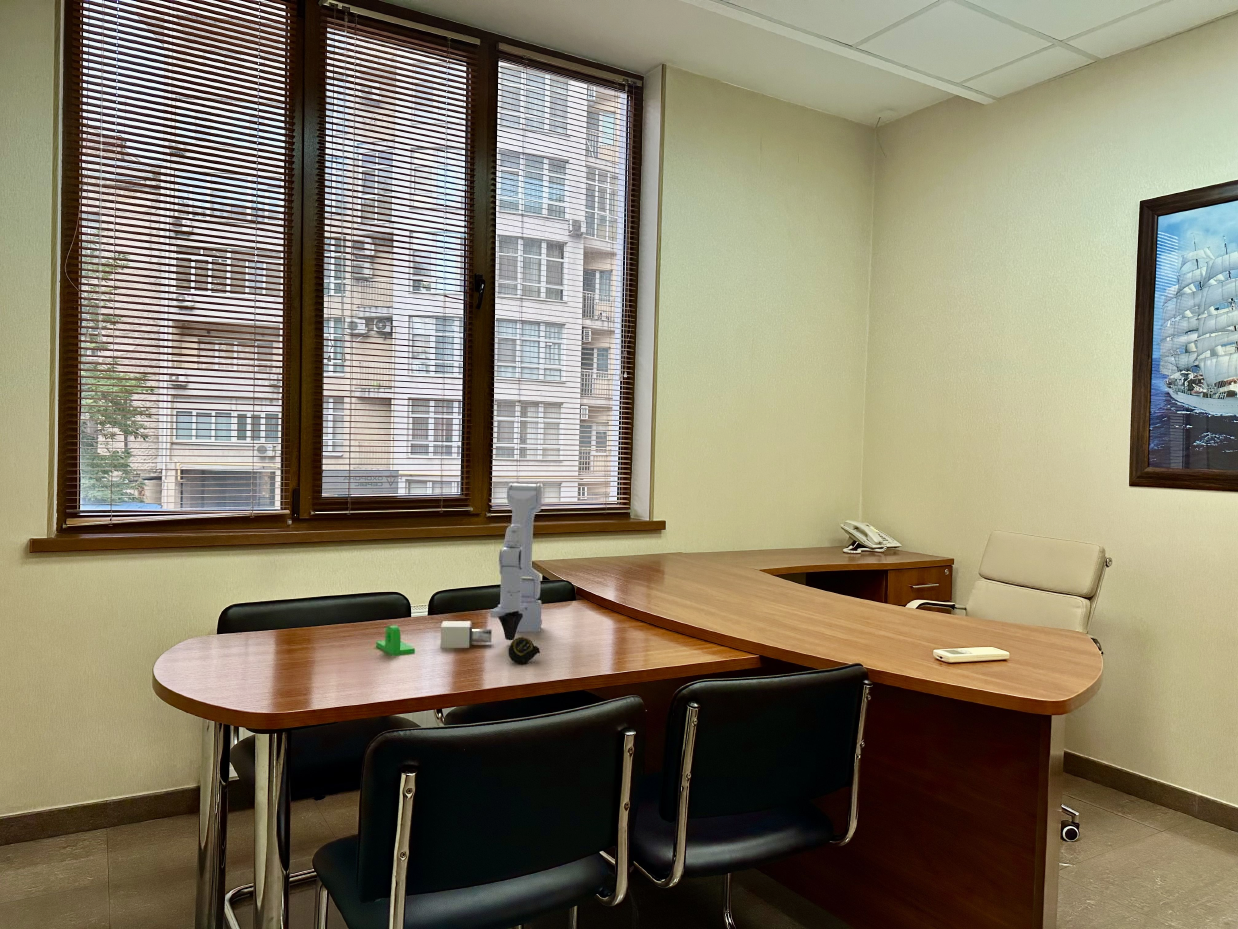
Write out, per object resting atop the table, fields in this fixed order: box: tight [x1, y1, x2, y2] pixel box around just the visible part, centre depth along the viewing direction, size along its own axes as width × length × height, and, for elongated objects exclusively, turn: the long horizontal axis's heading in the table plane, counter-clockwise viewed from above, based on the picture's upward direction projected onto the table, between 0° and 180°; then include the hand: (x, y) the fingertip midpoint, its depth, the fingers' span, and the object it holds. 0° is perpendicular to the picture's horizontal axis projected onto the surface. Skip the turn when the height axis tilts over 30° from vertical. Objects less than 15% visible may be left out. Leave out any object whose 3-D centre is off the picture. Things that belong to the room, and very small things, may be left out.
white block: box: [440, 620, 473, 649], centre depth 238 cm, size 8×7×6 cm
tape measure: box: [507, 636, 541, 666], centre depth 221 cm, size 7×7×4 cm
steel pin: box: [471, 628, 493, 644], centre depth 239 cm, size 9×4×4 cm, turn 97°
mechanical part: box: [375, 624, 416, 657], centre depth 231 cm, size 12×6×8 cm, turn 36°
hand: (509, 639), depth 240 cm, fingers closed
